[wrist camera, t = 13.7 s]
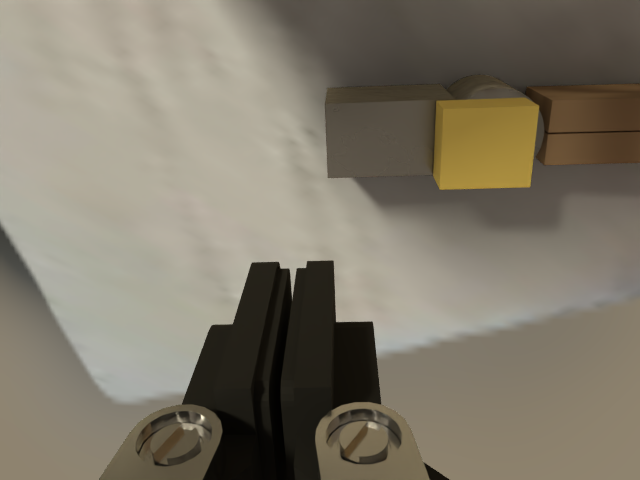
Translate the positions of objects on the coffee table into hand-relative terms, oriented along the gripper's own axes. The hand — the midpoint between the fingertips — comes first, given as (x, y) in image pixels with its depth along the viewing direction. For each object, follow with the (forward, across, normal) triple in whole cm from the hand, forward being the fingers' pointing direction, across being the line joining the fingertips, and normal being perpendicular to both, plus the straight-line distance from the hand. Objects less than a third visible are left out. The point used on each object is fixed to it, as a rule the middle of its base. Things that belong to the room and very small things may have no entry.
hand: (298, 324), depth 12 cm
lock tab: (+16, -7, +1) cm, 18 cm away
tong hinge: (+21, -5, +1) cm, 22 cm away
